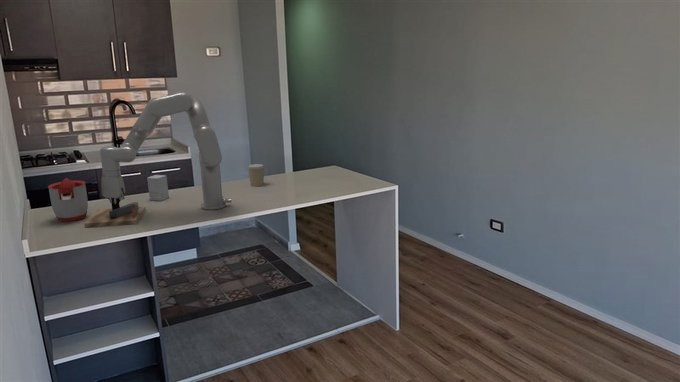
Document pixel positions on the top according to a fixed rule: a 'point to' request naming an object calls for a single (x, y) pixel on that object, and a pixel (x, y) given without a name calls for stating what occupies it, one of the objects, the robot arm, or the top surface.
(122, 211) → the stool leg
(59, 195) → the citrus juicer
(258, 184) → the coffee cup
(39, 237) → the top surface
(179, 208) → the top surface
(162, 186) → the supplement box
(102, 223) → the flat wooden plank
